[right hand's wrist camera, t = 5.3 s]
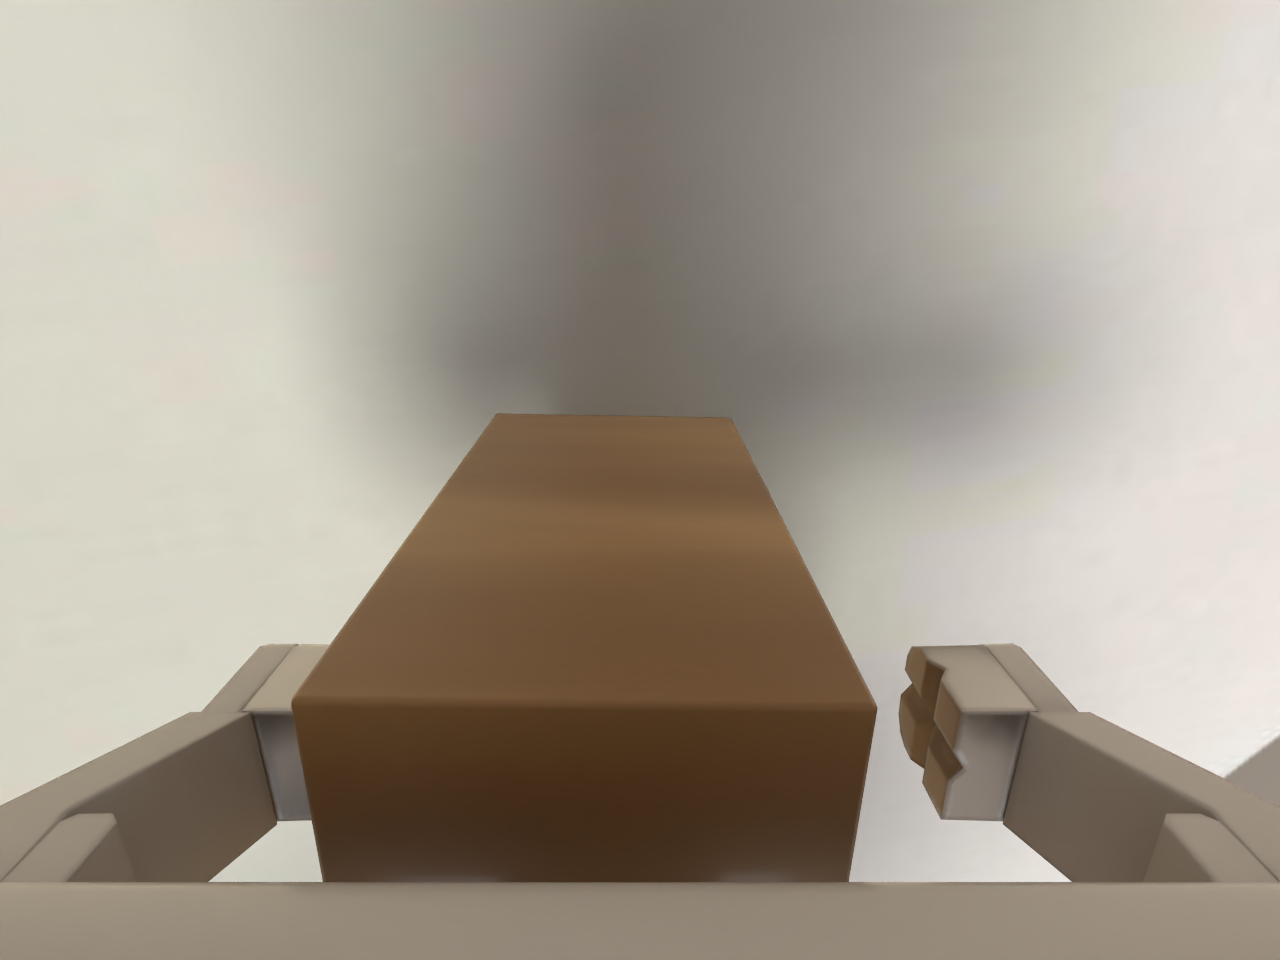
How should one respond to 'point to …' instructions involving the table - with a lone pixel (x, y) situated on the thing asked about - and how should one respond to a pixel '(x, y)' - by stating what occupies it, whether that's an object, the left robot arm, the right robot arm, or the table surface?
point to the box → (590, 676)
